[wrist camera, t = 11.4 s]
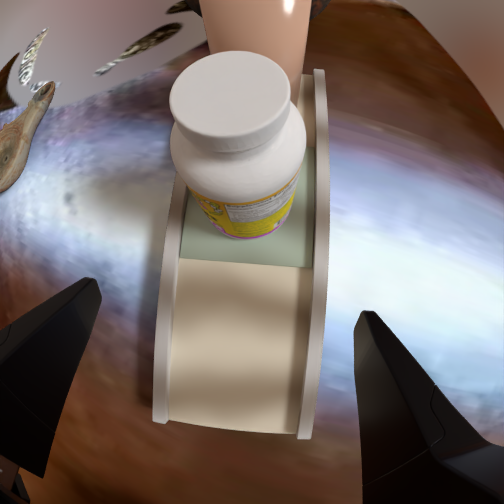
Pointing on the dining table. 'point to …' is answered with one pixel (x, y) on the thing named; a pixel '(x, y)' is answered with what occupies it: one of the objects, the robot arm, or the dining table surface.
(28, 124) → the oil lamp
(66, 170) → the dining table surface
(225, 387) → the rail board
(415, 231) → the dining table surface
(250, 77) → the supplement bottle
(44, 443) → the robot arm
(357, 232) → the dining table surface
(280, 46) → the terracotta post
